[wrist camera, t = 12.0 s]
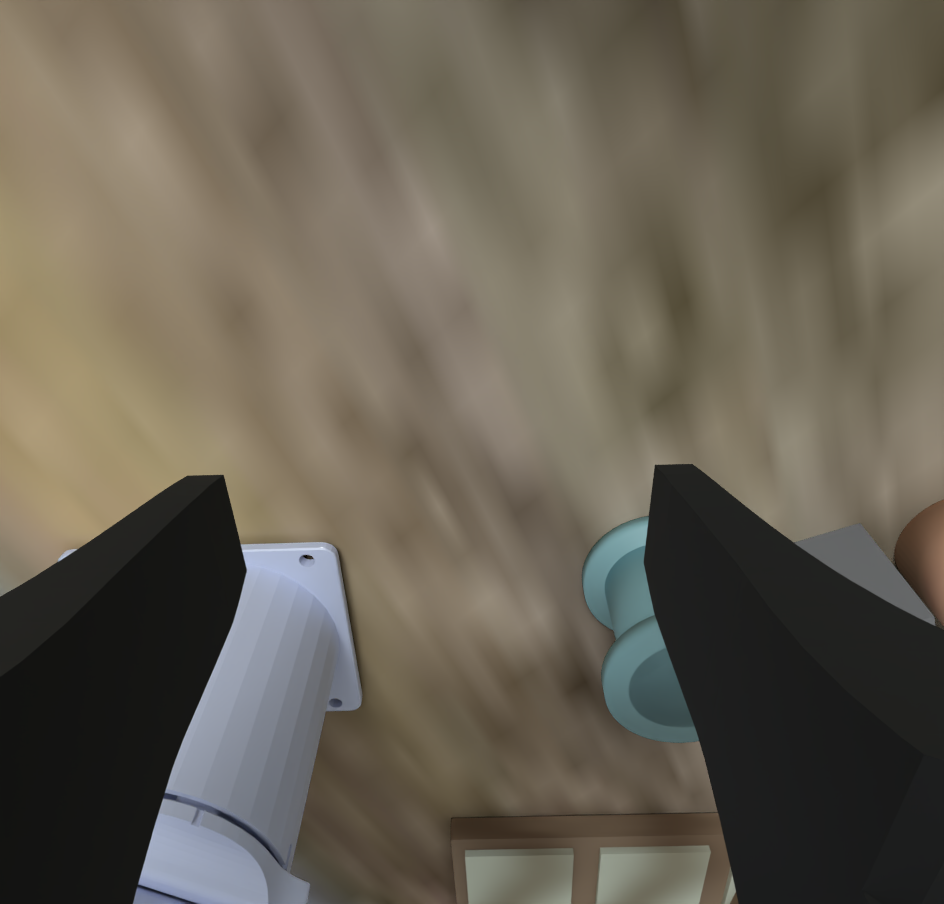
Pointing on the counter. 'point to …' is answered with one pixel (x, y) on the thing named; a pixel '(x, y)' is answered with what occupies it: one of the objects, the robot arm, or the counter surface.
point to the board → (591, 860)
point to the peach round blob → (924, 556)
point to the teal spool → (634, 639)
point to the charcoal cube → (866, 567)
